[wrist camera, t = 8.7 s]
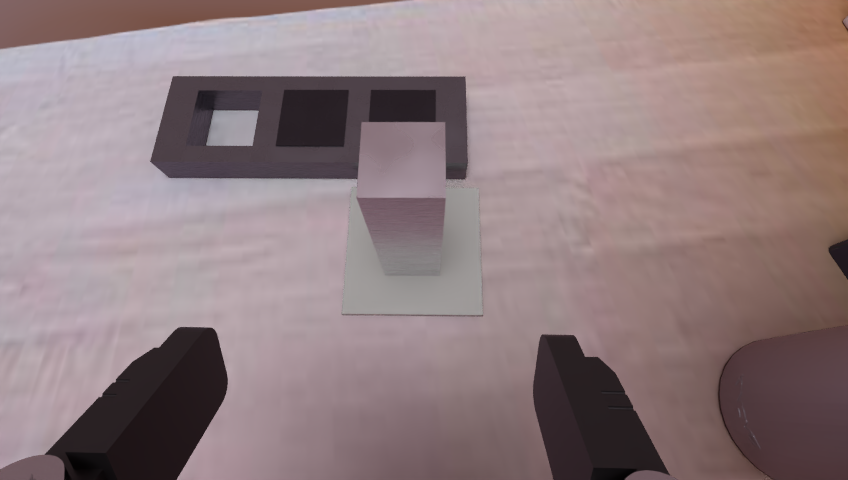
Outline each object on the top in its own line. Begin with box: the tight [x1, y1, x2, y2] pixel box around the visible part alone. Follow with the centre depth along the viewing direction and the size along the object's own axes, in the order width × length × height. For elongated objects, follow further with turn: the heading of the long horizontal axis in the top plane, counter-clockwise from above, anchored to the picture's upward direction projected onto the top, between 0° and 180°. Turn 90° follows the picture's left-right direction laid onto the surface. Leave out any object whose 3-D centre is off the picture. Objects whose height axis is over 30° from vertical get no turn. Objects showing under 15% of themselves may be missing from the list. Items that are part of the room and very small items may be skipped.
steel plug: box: [356, 122, 446, 276], centre depth 26 cm, size 4×4×13 cm
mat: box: [342, 187, 483, 316], centre depth 32 cm, size 10×10×1 cm
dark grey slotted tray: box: [150, 76, 468, 179], centre depth 35 cm, size 24×8×3 cm, turn 89°
